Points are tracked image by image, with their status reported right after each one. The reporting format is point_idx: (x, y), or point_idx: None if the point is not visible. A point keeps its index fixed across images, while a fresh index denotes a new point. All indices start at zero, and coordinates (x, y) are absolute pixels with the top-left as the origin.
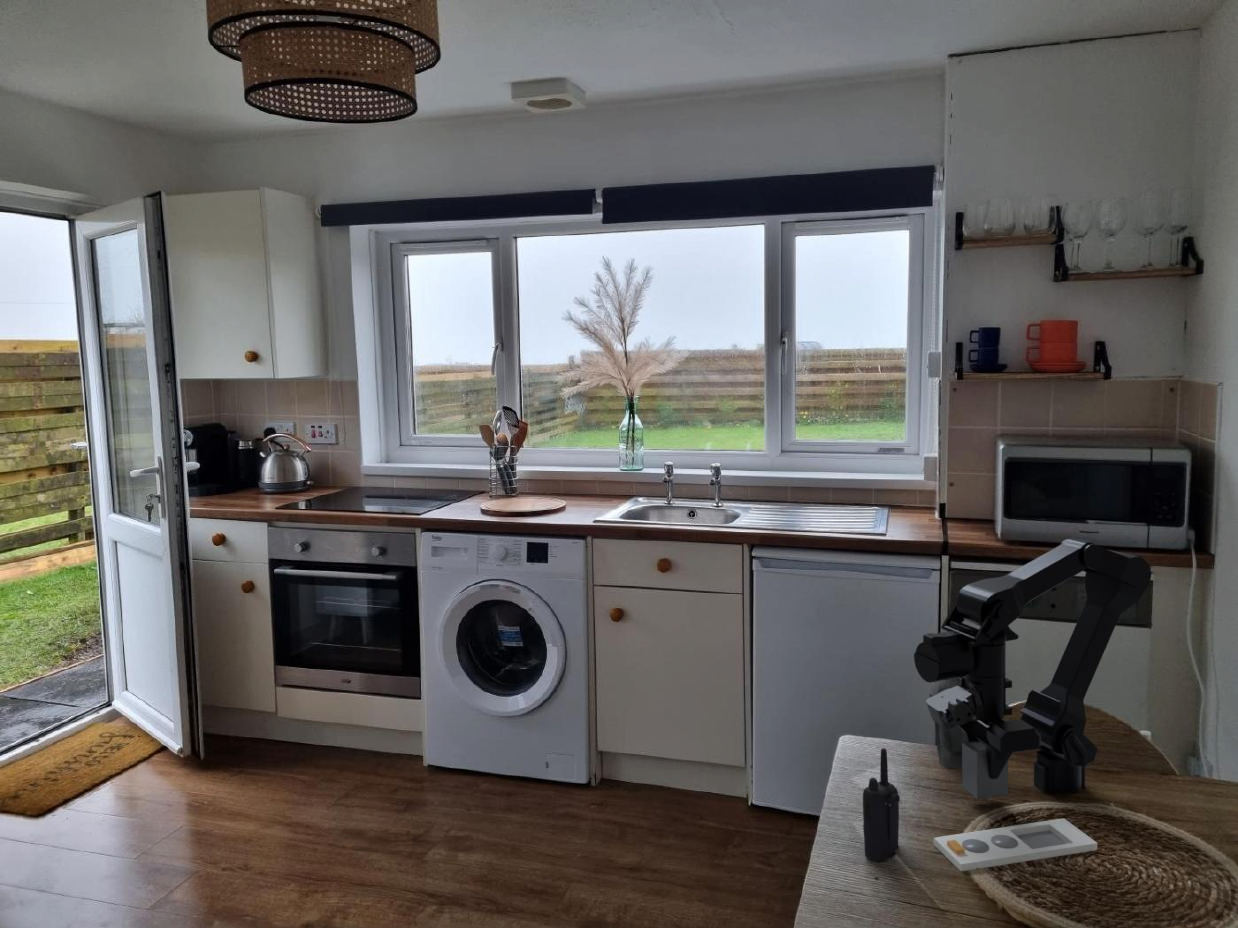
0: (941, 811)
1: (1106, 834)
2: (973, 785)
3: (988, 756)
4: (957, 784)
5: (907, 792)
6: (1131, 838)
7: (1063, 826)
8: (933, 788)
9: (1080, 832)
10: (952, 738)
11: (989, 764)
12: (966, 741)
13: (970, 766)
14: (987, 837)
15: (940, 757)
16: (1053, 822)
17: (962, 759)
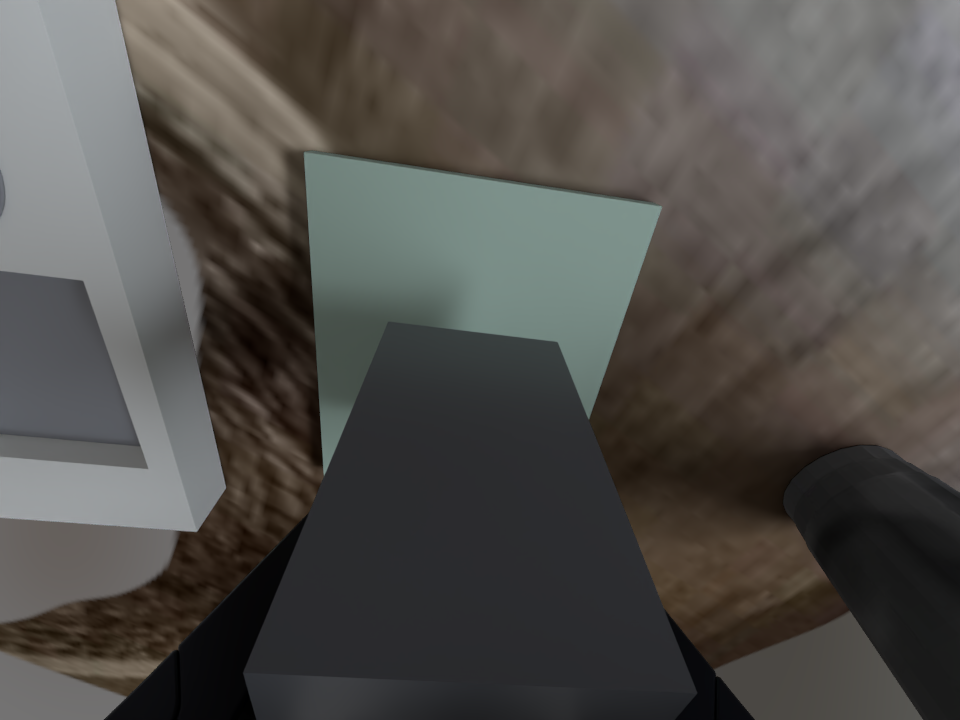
0: (546, 151)
1: (193, 563)
2: (424, 362)
3: (184, 703)
4: (703, 397)
5: (835, 109)
6: (163, 593)
7: (124, 497)
8: (754, 282)
9: (69, 515)
10: (938, 589)
11: (255, 591)
12: (718, 705)
13: (458, 458)
14: None
15: (899, 464)
16: (163, 487)
17: (606, 478)
